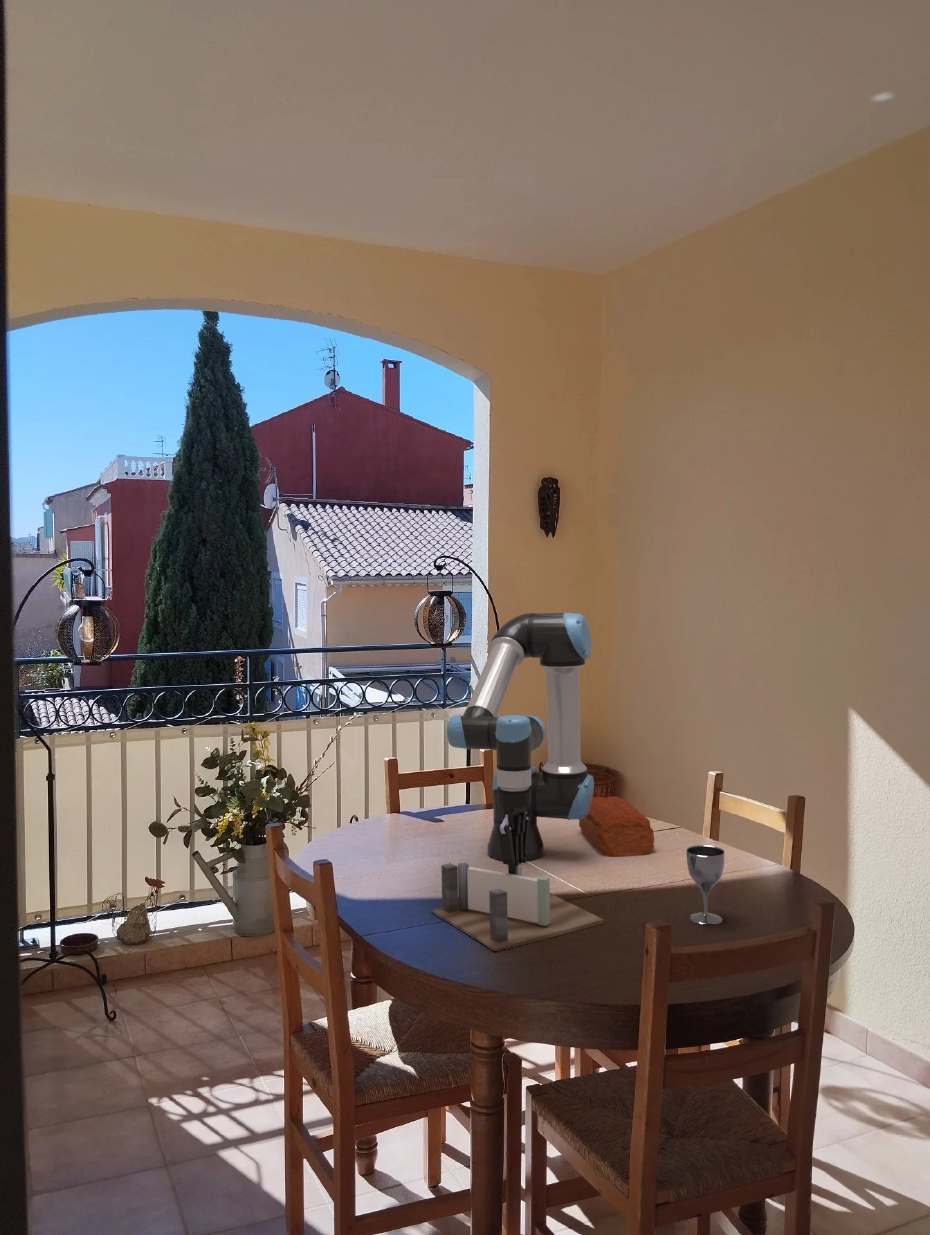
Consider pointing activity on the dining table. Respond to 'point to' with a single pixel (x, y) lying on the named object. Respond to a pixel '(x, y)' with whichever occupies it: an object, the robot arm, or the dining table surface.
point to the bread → (617, 828)
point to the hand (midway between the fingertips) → (515, 893)
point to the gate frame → (503, 929)
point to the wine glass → (705, 876)
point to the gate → (522, 892)
